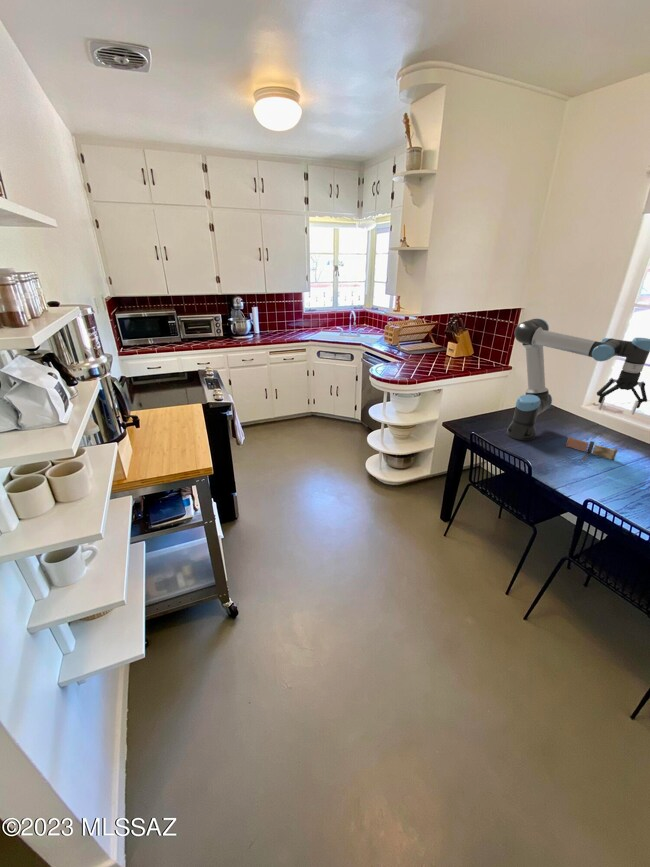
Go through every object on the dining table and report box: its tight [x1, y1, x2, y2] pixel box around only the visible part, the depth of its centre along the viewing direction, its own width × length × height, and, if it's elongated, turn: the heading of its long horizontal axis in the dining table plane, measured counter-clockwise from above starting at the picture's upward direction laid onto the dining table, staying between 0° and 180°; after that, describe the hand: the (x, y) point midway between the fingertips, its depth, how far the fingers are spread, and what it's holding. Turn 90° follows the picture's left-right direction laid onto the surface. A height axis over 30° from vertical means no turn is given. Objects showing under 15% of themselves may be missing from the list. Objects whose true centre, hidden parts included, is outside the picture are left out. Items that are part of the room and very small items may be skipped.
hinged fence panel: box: [565, 436, 589, 453], centre depth 193 cm, size 9×1×6 cm, turn 43°
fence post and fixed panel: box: [586, 440, 618, 461], centre depth 185 cm, size 12×2×6 cm, turn 43°
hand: (615, 411), depth 183 cm, fingers open, 13 cm apart
